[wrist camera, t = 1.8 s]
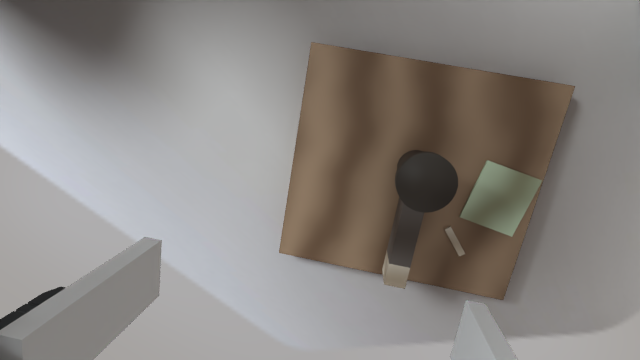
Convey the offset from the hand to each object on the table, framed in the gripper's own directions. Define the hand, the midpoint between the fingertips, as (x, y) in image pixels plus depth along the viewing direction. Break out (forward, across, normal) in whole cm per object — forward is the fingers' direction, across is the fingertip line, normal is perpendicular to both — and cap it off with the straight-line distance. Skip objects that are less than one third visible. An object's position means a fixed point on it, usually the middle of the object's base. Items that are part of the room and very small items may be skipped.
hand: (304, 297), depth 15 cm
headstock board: (+21, +7, +2) cm, 22 cm away
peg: (+19, +7, -1) cm, 20 cm away
